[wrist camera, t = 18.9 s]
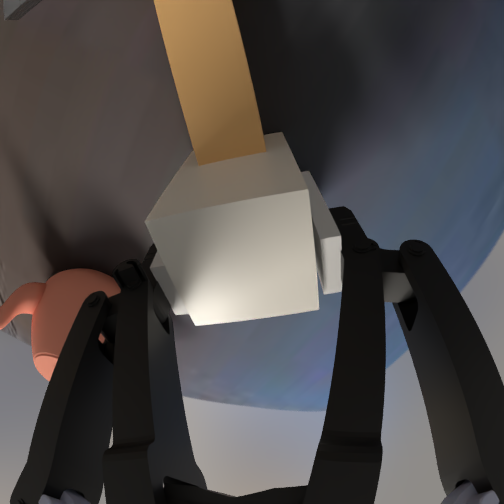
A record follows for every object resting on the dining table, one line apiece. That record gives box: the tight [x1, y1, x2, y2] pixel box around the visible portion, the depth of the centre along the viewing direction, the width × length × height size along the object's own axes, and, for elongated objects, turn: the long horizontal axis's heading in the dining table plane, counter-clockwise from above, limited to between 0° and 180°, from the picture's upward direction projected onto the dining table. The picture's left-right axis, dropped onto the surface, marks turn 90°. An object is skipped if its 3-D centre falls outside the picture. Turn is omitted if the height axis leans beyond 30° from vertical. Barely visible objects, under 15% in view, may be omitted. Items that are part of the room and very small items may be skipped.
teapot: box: [0, 268, 121, 382], centre depth 19 cm, size 12×18×10 cm
